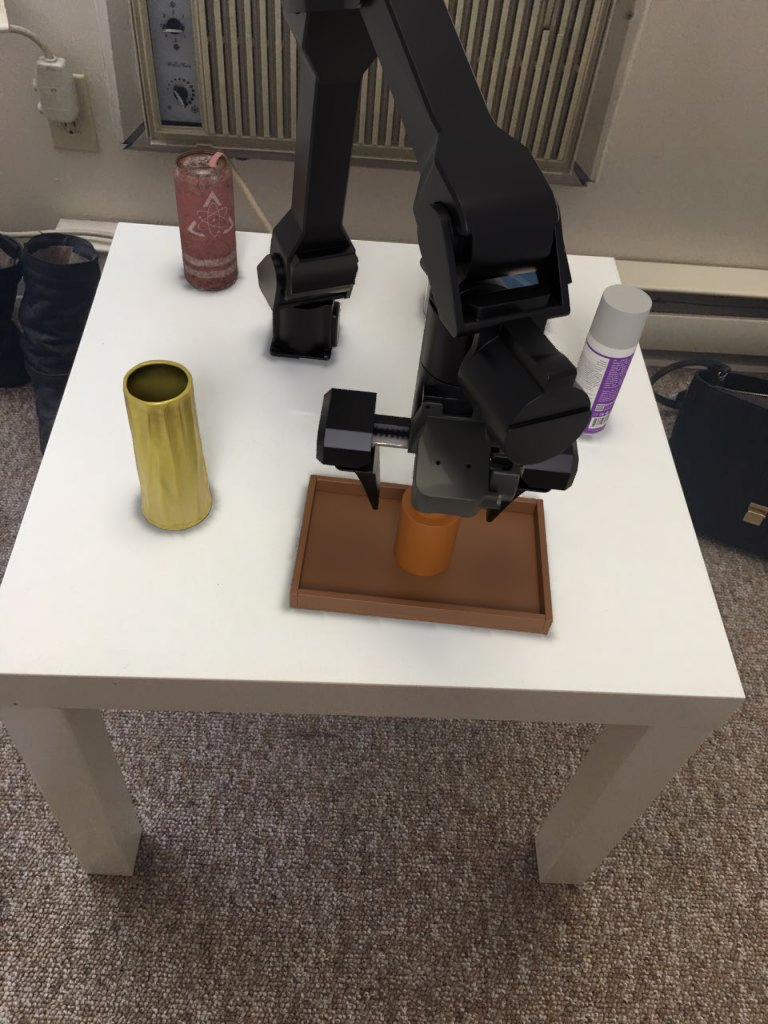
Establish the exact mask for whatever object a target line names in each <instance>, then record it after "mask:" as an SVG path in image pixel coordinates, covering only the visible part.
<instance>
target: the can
mask: <svg viewBox="0 0 768 1024" xmlns="http://www.w3.org/2000/svg"><path fill="white" fill-rule="evenodd" d="M174 161H175V163H174V165H173V166H172V174H173V183H174V192H175V202H176V210H177V221H178V230H179V239H180V247H181V256H182V257H181V258H182V266H183V274H184V278H185V280H186V281H187V282H188V283H189V285H190V286H192V287H193V288H195V289H196V290H199V291H203V292H204V291H205V292H219V291H223V290H226V289H228V288H230V287H231V286H232V285H233V284H235V281H236V280H237V279H238V275H239V272H238V271H239V270H238V268H239V267H238V251H237V249H238V248H237V233H236V232H237V231H236V230H237V229H236V214H235V213H236V211H235V195H234V194H235V193H234V177H233V175H234V174H233V168H232V166H231V164H230V163H229V159H228V158H227V157H226V156H225V154H224V153H223V152H221V151H214V150H210V149H193V150H188V151H185V152H182V153H181V154H179V155H178V156H177V157H176V158H175V160H174Z"/></svg>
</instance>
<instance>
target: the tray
mask: <svg viewBox="0 0 768 1024" xmlns="http://www.w3.org/2000/svg"><path fill="white" fill-rule="evenodd" d="M411 485H412V484H404V483H394V482H386V481H380V496H379V505H378V510H373V509H372V506H371V504H370V502H369V499H368V497H367V495H366V492H365V490H364V487H363V485H362V483H361V481H360V480H359V478H349V477H340V476H339V477H338V476H330V475H319V474H309V481H308V487H307V491H306V492H307V493H306V497H305V503H304V509H303V515H302V521H301V526H300V534H299V538H298V544H297V550H296V556H295V560H294V561H295V562H294V567H293V572H292V579H291V584H290V590H289V608H290V609H299V610H300V609H301V610H308V611H309V610H310V611H317V612H318V611H319V612H329V613H340V614H349V615H358V616H368V617H378V618H386V619H396V620H404V621H405V620H407V621H416V622H426V623H433V624H435V623H436V624H443V625H444V624H445V625H453V626H463V627H472V628H482V629H483V628H484V629H492V630H501V631H510V632H511V631H512V632H521V633H529V634H530V633H531V634H541V635H548V634H549V631H550V629H551V627H552V625H553V622H554V615H553V602H552V591H551V579H550V566H549V565H550V564H549V556H548V554H549V553H548V543H547V531H546V519H545V506H544V499H543V498H535V497H534V498H533V497H524V496H523V497H522V496H518V497H517V498H516V499H515V500H514V501H512V502H511V503H510V504H509V505H508V506H507V507H506V508H505V509H504V510H503V511H502V512H501V513H500V514H499V515H498V516H497V517H496V518H495V519H494V520H493V521H492V522H486V510H487V508H480V510H479V512H478V513H477V514H476V515H475V516H473V517H461V521H460V525H459V529H458V533H457V537H456V541H455V545H454V549H453V554H452V558H451V561H450V564H449V565H448V567H447V568H446V569H445V570H444V571H443V572H441V573H439V574H437V575H433V576H417V575H414V574H411V573H409V572H407V571H406V570H404V569H403V568H402V567H401V566H400V565H399V564H398V562H397V560H396V558H395V555H394V547H395V541H396V534H397V528H398V522H399V515H400V509H401V502H402V497H403V494H404V492H405V491H406V490H407V489H408V488H409V487H410V486H411Z"/></svg>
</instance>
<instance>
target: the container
mask: <svg viewBox="0 0 768 1024" xmlns="http://www.w3.org/2000/svg"><path fill="white" fill-rule="evenodd" d="M652 306H653V301H652V298H651V297H650V295H648V293H646V292H645V291H644V290H642V289H641V288H639V287H636V286H633V285H629V284H623V283H617V284H611V285H608V286H607V287H606V288H604V289H603V291H602V293H601V296H600V300H599V301H598V305H597V308H596V311H595V313H594V316H593V319H592V321H591V324H590V327H589V328H588V332H587V335H586V338H585V341H584V344H583V347H582V349H581V352H580V354H579V355H580V356H579V359H578V361H577V365H576V366H575V367H576V368H577V376H576V379H575V380H576V381H577V383H578V384H579V385H580V386H581V387H582V389H583V390H584V391H585V392H586V393H587V395H588V396H589V399H590V401H591V411H592V416H591V419H590V421H589V423H588V425H587V427H586V429H585V430H584V432H583V433H582V434H581V435H586V436H587V435H589V436H590V435H596V434H599V433H601V432H602V431H604V429H605V428H606V426H607V423H608V421H609V418H610V416H611V414H612V411H613V408H614V405H615V404H616V401H617V398H618V396H619V393H620V390H621V388H622V385H623V383H624V381H625V378H626V375H627V373H628V371H629V368H630V365H631V363H632V361H633V358H634V355H635V353H636V350H637V347H638V344H639V342H640V339H641V337H642V334H643V331H644V328H645V326H646V322H647V320H648V317H649V315H650V312H651V310H652Z"/></svg>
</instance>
